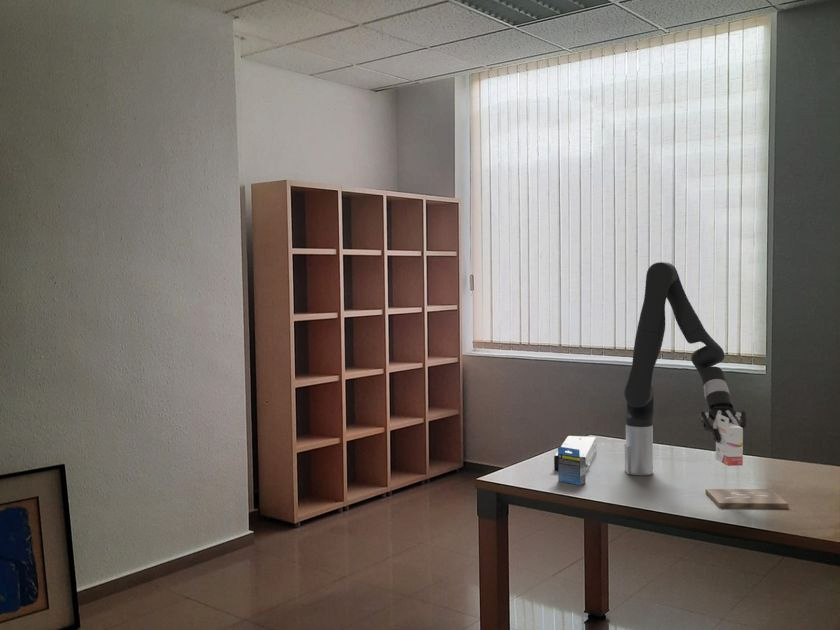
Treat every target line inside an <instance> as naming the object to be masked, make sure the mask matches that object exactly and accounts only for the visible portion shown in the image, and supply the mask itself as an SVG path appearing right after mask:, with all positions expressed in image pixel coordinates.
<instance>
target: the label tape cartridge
mask: <svg viewBox="0 0 840 630" xmlns="http://www.w3.org/2000/svg"><path fill="white" fill-rule="evenodd" d="M568 450H569V451H570V452H572V453H566V452H565V451H568ZM557 451H558V471H557V475H558V479H557V480H558V482H559V481H561V482H560V483H565V482H566V483H565V484H570V483H571V484H572V485H577V486H583V485H585V484H586V480H587V479H586V473H585V459H583V458H581V457H580V453H579V450H578V449H572V448H566V447H561V446H558V445H557ZM582 484H583V485H582Z"/></svg>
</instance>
